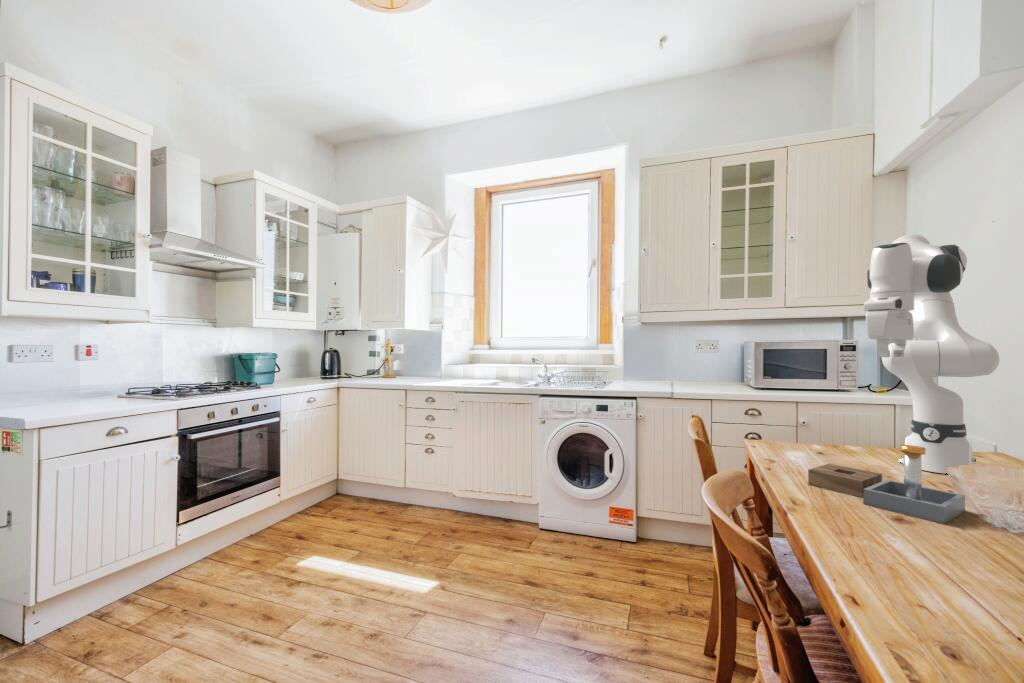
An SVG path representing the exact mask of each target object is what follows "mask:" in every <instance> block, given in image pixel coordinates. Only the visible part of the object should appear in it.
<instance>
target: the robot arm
mask: <svg viewBox="0 0 1024 683" xmlns="http://www.w3.org/2000/svg"><path fill="white" fill-rule="evenodd" d="M967 262H968V257H967V255H966V253H965V252H964V250H962V248H960V247H959V246H958V245H956V244H945V245H940V246H938V245H933V244H931V243H930V241H929V240H928V239H927V238H926V237H924V236H923V235H920V234H914V233H911V234H905V235H902V236H900V237H897V238H896V239H895V240H893V241H892V242H891V243H888V244H880V245H877V246H875V247H874V248H872V251H871V255H870V264H869V269H868V270H867V273H866V274H867V276H866V277H867V287H868V289H870V291H869V298H868V300H866V301H864V303H863V310H864V311H866V314H865V324H866V325H865V326H866V333H867V337H868V339H870V340H876V346H877V348H878V351H879V352H878V355H879V358H881V361H882V362H881V363H882V364H883V367H884V368H885V369H886V370H887V371H889V373H890V374H893V375H894V376H896V377H897V378H898V379H900V380H901V381H902V382H903V383H904V385H905V386H906V388H907V389H908V391H909V394H910V396H911V403H912V418H913V419H911V421H910V427H911V434H909V435H907V436H906V437H905V440H904V445H913V446H920V447H924V448H926V454H923V455H921V464H922V471H926V472H932V473H938V474H944V475H945V474H946V468H947V467H955V466H959V465H971V464H980V463H978V462H977V459H976V457H973V448H972V444H970V442H969V441H968V439H967V438H966V436H967V435H968V434H967V427H966V423H964V400H963V398H962V396H961V395H960V394H958V393H957V392H955V391H953V390H950V389H948V388H946V387H944V386H941V385H939V384H937V383H936V381H935V378H936V377H942V378H943V377H945V378H946V377H947V378H948V377H951V378H974V377H983V376H989V375H991V374H992V373H993V372H995V371H996V369H998V367H999V364H1000V354H999V352H998V350H997V349H996V348H995V347H994V346H993V345H992V344H991V343H989V342H986V341H985V340H980V339H978V338H976V337H975V336H972V335H970V334H969V333H968V332H966V331H965V330H964V329H963V328H962V327H961V326H960V323H959V320H958V318H957V314H956V313H957V312H956V308H955V303H954V300H953V298H952V297H953V296H952V295H951V291H953V290H955V289H956V288H957V287H958V286H959V285H960V284H961V283H962V279H963V276H964V275H963V274H964V272H965V270H966V267H967ZM914 337H916V338H918V340H913V339H914ZM890 340H894V342H890ZM897 462H898V463H900V462H901V463H900V464H903V465H904V457H902V458H898V461H897ZM946 475H947V474H946Z"/></svg>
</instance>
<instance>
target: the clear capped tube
mask: <svg viewBox="0 0 1024 683" xmlns="http://www.w3.org/2000/svg"><path fill="white" fill-rule="evenodd" d="M899 452H901V453H903V458H904V464H903V481H904V482H903V483H904V497H906V498H911V499H915V500H920V501H922V487H923V484H922V482H923V481H922V480H923V479H922V478H923V477H922V476H923V475H922V471H923V470H922V464H921V455H923V454H926V448H924V447H920V446H913V445H905V444H900V445H899Z"/></svg>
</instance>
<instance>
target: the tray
mask: <svg viewBox="0 0 1024 683" xmlns="http://www.w3.org/2000/svg"><path fill="white" fill-rule="evenodd" d="M965 497H966V496H965V494H960V493H956V492H951V491H946V490H942V489H935V488H930V487H926V486H922V501H920V500H915V499H911V498H906V497H904V482H903V481H902V482H901V481H897V480H891V479H885V480H882V482H880V483H877V484H875V485H872V486H870V487H867V488H865V489H863V505H867V506H870V507H874V508H878V509H882V510H886V511H891V512H894V513H899V514H903V515H906V516H910V517H915V518H919V519H922V520H927V521H930V522H935V523H939V524H943V525H945V524H947V523H949V522H950V521H952V520H953V519H955V518H956V517H958V516H960V515H961V514H963V513H964V512H966V498H965Z"/></svg>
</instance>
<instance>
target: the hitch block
mask: <svg viewBox="0 0 1024 683" xmlns="http://www.w3.org/2000/svg"><path fill="white" fill-rule="evenodd" d="M807 472H808V473H807V474H808V476H807V477H808V482H807V483H808V486H813V487H815V488H821V489H825V490H829V491H833V492H837V493H840V494H841V493H842V494H846V495H850V496H854V497H857V498H863V489H865V488H867V487H870V486H872V485H875V484H877V483H880V482H882V481H883V474H882V473H879V472H874V471H870V470H865V469H861V468H860V469H859V468H855V467H851V466H850V467H849V466H844V465H839V464H833V463H827V464H822V465H820V466H816V467H812V468H809V469H808V471H807Z"/></svg>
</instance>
